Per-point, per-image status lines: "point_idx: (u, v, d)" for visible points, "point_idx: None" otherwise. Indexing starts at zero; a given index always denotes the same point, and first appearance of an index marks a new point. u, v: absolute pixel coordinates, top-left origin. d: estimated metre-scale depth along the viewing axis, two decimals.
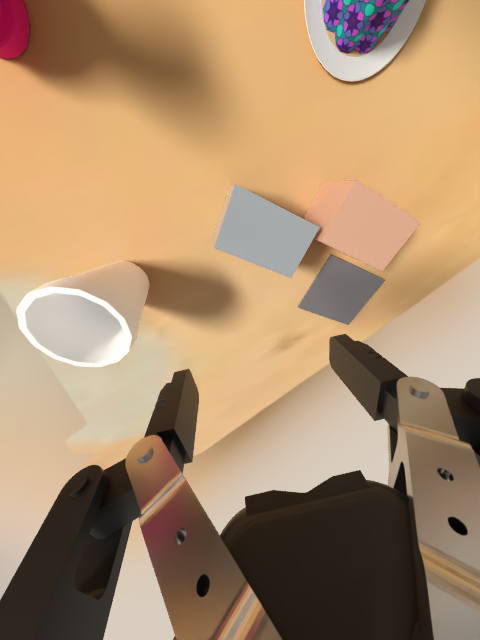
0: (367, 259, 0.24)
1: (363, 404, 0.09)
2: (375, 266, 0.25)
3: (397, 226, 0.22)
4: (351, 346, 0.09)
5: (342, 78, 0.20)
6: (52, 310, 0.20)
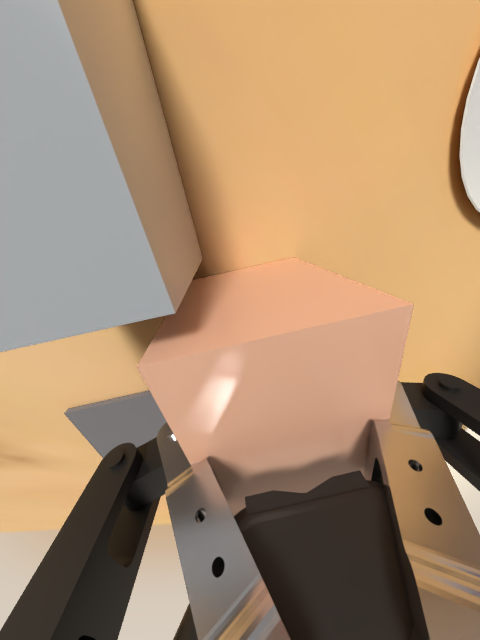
0: None
1: None
2: None
3: None
4: None
5: (462, 154, 0.09)
6: None
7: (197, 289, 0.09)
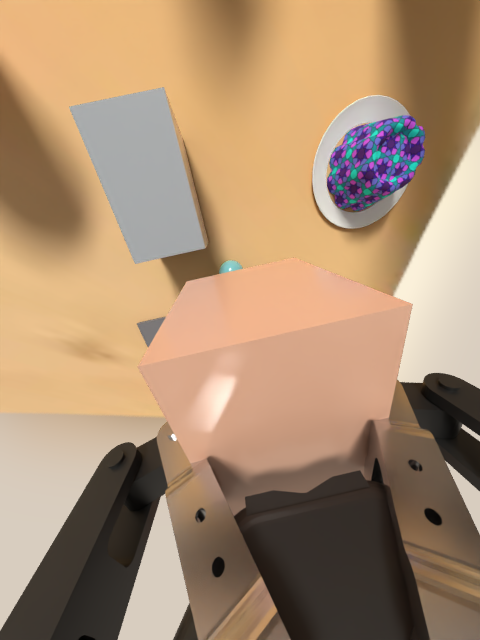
0: None
1: None
2: None
3: None
4: None
5: (317, 201, 0.23)
6: None
7: (197, 289, 0.09)
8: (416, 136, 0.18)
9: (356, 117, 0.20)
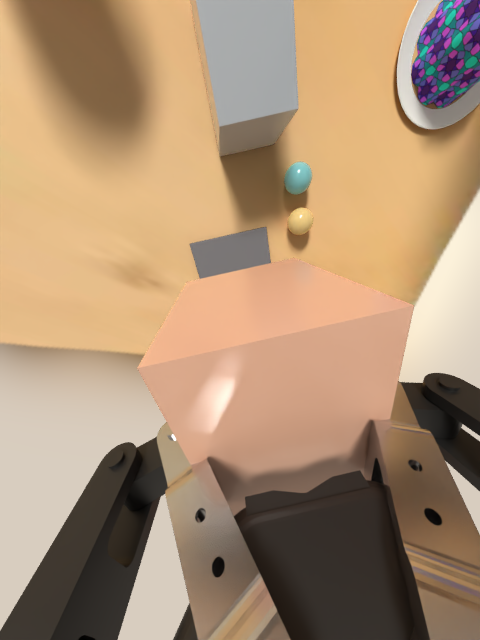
0: None
1: None
2: None
3: None
4: None
5: (399, 94, 0.20)
6: None
7: (197, 290, 0.09)
8: None
9: None
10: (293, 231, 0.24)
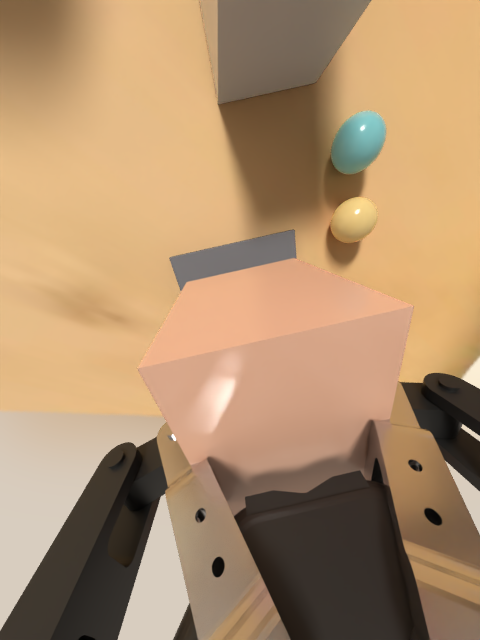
0: None
1: None
2: None
3: None
4: None
5: None
6: None
7: (197, 290, 0.09)
8: None
9: None
10: (342, 237, 0.14)
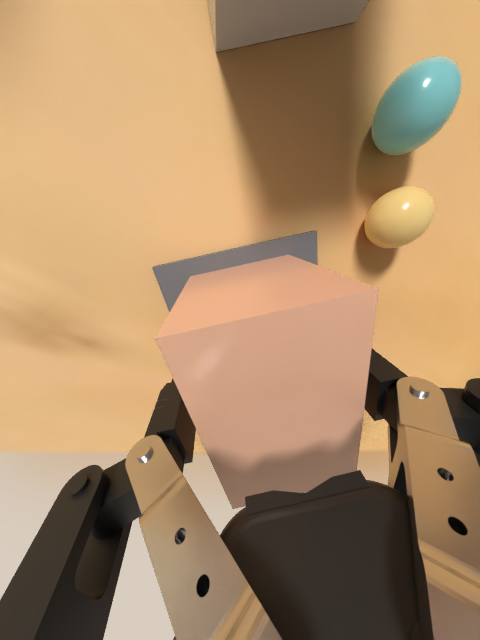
0: (227, 473, 0.08)
1: None
2: (230, 494, 0.09)
3: (326, 460, 0.09)
4: None
5: None
6: None
7: (200, 282, 0.10)
8: None
9: None
10: (382, 241, 0.11)
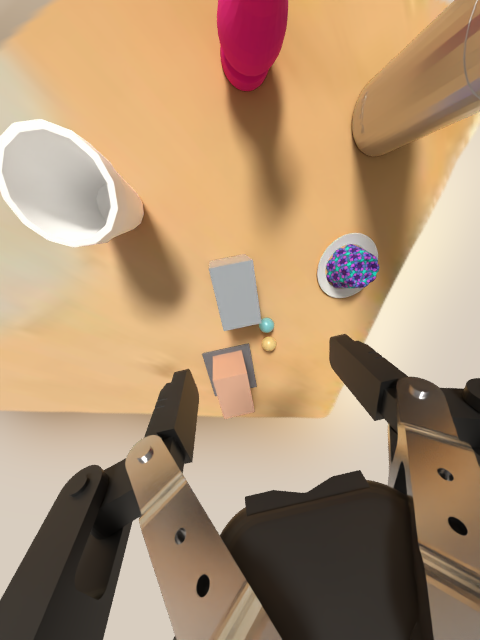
0: (223, 407, 0.37)
1: (363, 404, 0.09)
2: (223, 414, 0.38)
3: (245, 405, 0.38)
4: (351, 346, 0.09)
5: (322, 288, 0.38)
6: (52, 150, 0.18)
7: (216, 361, 0.39)
8: (372, 261, 0.32)
9: (338, 245, 0.35)
10: (264, 349, 0.40)
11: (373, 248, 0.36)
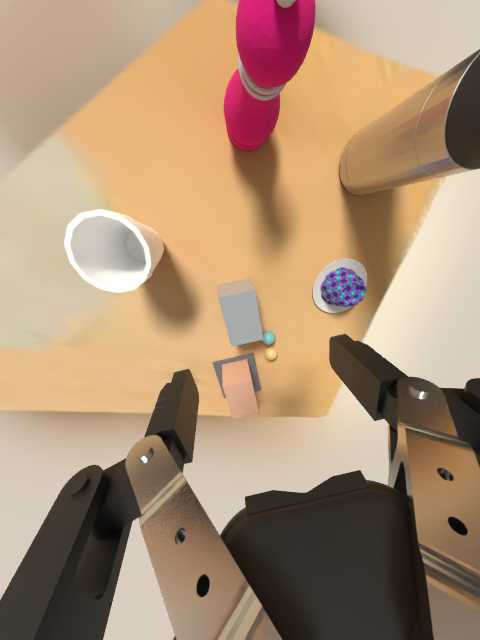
0: (231, 409, 0.44)
1: (363, 404, 0.09)
2: (232, 414, 0.44)
3: (251, 407, 0.44)
4: (351, 346, 0.09)
5: (318, 306, 0.43)
6: (102, 221, 0.24)
7: (225, 369, 0.45)
8: (359, 284, 0.37)
9: (329, 269, 0.40)
10: (267, 358, 0.46)
11: (362, 269, 0.41)
